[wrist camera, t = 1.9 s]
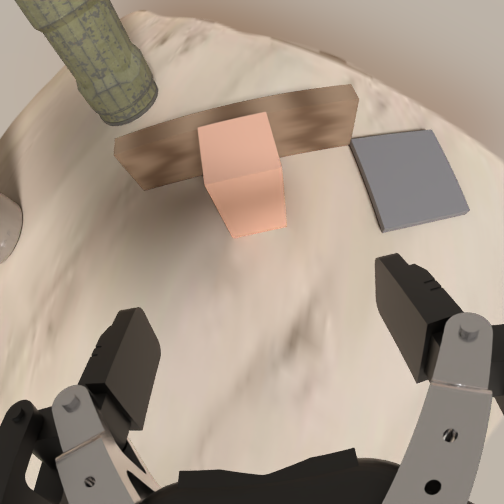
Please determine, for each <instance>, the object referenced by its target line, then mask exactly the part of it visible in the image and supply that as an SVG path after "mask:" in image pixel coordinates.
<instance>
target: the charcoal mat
mask: <svg viewBox="0 0 504 504" xmlns="http://www.w3.org/2000/svg"><path fill="white" fill-rule="evenodd" d="M350 147H351V149H352V151H353V154H354V156H355V159H356V161H357V164H358V166H359V169H360V172H361V174H362V177H363V179H364V182H365V185H366V187H367V190H368V193H369V196H370V198H371V201H372V204H373V207H374V210H375V213H376V216H377V219H378V222H379V225H380V228H381V231H382V233H384V232H388V231H393V230H397V229H402V228H406V227H411V226H415V225H420V224H424V223H429V222H433V221H438V220H442V219H447V218H451V217H455V216H460V215H464V214H466V213H467V212H468V211H469V210H470V209H469V207H468V204H467V202H466V200H465V197H464V195H463V192H462V190H461V188H460V186H459V183H458V181H457V179H456V177H455V175H454V172H453V170H452V168H451V166H450V164H449V162H448V160H447V158H446V156H445V154H444V152H443V150H442V148H441V146H440V144H439V142H438V140H437V138H436V137H435V135H434V133H433V131H432V130H422V131H412V132H403V133H394V134H386V135H378V136H370V137H363V138H356V139H351V142H350Z"/></svg>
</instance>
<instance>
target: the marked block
mask: <svg viewBox="0 0 504 504" xmlns="http://www.w3.org/2000/svg"><path fill="white" fill-rule="evenodd" d="M198 136H199V145H200V153H201V161H202V169H203V177H204V185H205V187H206V189H207V191H208V193H209V194H210V196H211V198H212V200H213V202H214V204H215V206H216V208H217V209H218V211H219V213H220V215H221V217H222V219H223V221H224V223H225V224H226V226H227V228H228V230H229V232H230V234H231V236H232V237H233V238H237V237H242V236H247V235H251V234H256V233H260V232H265V231H270V230H274V229H279V228H284V227H287V222H286V209H285V197H284V185H283V174H282V166H281V162H280V159H279V155H278V152H277V148H276V145H275V141H274V138H273V134H272V131H271V127H270V124H269V120H268V117H267V114H266V112H262V113H257V114H252V115H248V116H243V117H239V118H234V119H230V120H226V121H222V122H218V123H214V124H210V125H206V126H202V127H198Z"/></svg>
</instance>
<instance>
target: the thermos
mask: <svg viewBox="0 0 504 504" xmlns="http://www.w3.org/2000/svg"><path fill="white" fill-rule="evenodd" d="M15 1H16V3H17V4H18V6H19V7H20V9H21V10H22V12H23V13H24V15H25V16H26V17H27V19H28V20H29V22H30V23H31V25H32V26H33V27H34V28H35V29H36V30H38V31H41V32H43V34H44V35H45V37H46V38H47V40H48V41H49V42H50V44H51V45H52V46H53V48H54V49H55V51H56V52H57V54H58V55H59V56H60V58H61V59H62V61H63V62H64V63H65V65H66V66H67V68H68V69H69V70H70V72H71V73H72V75H73V76H74V77H75V79H76V82H77V86H78V90H79V92H80V93H81V94H82V96H83V97H84V98H85V100H86V101H87V102H88V104H89V105H90V106H91V107H92V109H93V110H94V111H95V112H96V113H98V114H99V115H100V117H101V119H102V120H103V121H104V122H105V123H106V124H108V125H111V126H119V125H123V124H127V123H130V122H132V121H133V120H135V119H137V118H139V117H140V116H142V115H143V114H144V113H145V112H147V111H148V110H149V108H150V107H151V106H152V105H153V104H154V102H155V100H156V98H157V95H158V88H157V86H156V84H155V82H154V81H153V79H152V73H151V71H150V69H149V67H148V65H147V63H146V61H145V59H144V57H143V55H142V53H141V51H140V49H139V48H137V47H136V46H135V45H134V44H132V43H131V41H130V39H129V37H128V35H127V33H126V31H125V29H124V27H123V25H122V23H121V21H120V19H119V18H118V15H117V13H116V11H115V10H114V8H113V6H112V4H111V2H110V0H15Z"/></svg>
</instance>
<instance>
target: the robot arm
mask: <svg viewBox="0 0 504 504" xmlns="http://www.w3.org/2000/svg"><path fill="white" fill-rule="evenodd" d="M21 227H22V211H21V208H20V206H19V205H18V204H17V203H15V202H14V201H12V200H11V199H9V198H8V197H6V196H5V195H3V194H2V193H0V263H2V262H3V261H4V260H6V259H7V257H8V256H9V255H10V254H11V252H12V251H13V249H14V247H15V245H16V243H17V241H18V238H19V235H20V232H21ZM375 284H376V303H377V307H378V311H379V313H380V315H381V317H382V319H383V321H384V322H385V324H386V326H387V328H388V330H389V332H390V333H391V335H392V337H393V339H394V341H395V343H396V344H397V346H398V348H399V350H400V352H401V354H402V356H403V358H404V360H405V361H406V363H407V365H408V367H409V369H410V371H411V373H412V375H413V377H414V379H415V381H416V383H420V382H423V381H425V380H429V382H430V386H429V389H428V392H427V395H426V399H425V402H424V405H423V408H422V411H421V414H420V417H419V419H418V422H417V425H416V428H415V430H414V433H413V436H412V438H411V441H410V443H409V446H408V448H407V451H406V453H405V456H404V458H403V460H402V463H401V465H399V464H397V463H394V462H390V461H386V460H381V459H374V458H357V456H356V452H355V448H351V449H348V450H344V451H339V452H335V453H331V454H326V455H322V456H317V457H312V458H309V459H306V460H304V461H301V462H299V463H296V464H294V465H291V466H289V467H286V468H284V469H281V470H278V471H276V472H273V473H270V474H267V475H256V474H247V473H240V472H232V471H226V470H200V471H179V479H178V482H176V483H173V484H170V485H167V486H165V487H163V488H161V487H160V486H159V484H158V483H157V482H156V481H155V479H154V478H153V477H152V475H151V473H150V472H149V470H148V469H147V467H146V466H145V464H144V462H143V461H142V459H141V457H140V456H139V454H138V452H137V451H136V449H135V447H134V445H133V444H132V442H131V440H130V439H129V438H128V437H127V436H128V433H129V430H143V425H144V421H145V417H146V413H147V408H148V404H149V400H150V396H151V392H152V388H153V384H154V380H155V376H156V372H157V368H158V364H159V361H160V356H161V349H160V344H159V341H158V339H157V337H156V335H155V333H154V331H153V329H152V327H151V325H150V323H149V321H148V319H147V317H146V315H145V313H144V311H143V310H142V309H141V308H139V307H137V308H131V309H126V310H121V311H119V312H118V314H117V316H116V318H115V320H114V322H113V324H112V326H110V327H109V328H108V329H107V330H106V331H105V332H104V333H103V334H102V335H101V336H100V338H99V340H98V342H97V344H96V348H95V349H94V351H93V353H92V357H90V359H89V361H88V363H87V365H86V367H85V370H84V372H83V374H82V376H81V378H80V380H79V383H78V385H73V386H70V387H68V388H66V389H64V390H63V391H61V392H60V393H59V394H58V395H57V397H56V398H55V400H54V402H53V405H52V406H51V407H48V408H44V409H41V410H37V409H36V407H35V406H34V405H33V404H32V403H31V402H30V401H28V400H21V401H19V402H17V403H15V404H14V405H12V406H11V407H10V409H9V410H8V411H7V413H6V415H5V417H4V419H3V421H2V423H1V426H0V504H474V503H472V502H469V501H468V499H469V496H470V493H471V490H472V487H473V483H474V480H475V477H476V474H477V470H478V466H479V462H480V459H481V454H482V450H483V446H484V442H485V437H486V432H487V427H488V421H489V416H490V410H491V403H492V397H495V399H496V401H497V403H498V405H499V407H500V409H501V411H502V413H503V415H504V324H501V325H491V324H490V323H489V322H488V320H486V319H485V318H484V317H482V316H480V315H478V314H475V313H468V312H465V313H464V312H463V311H462V310H461V308H460V307H459V306H458V305H457V304H456V303H455V301H454V300H453V299H452V298H451V297H450V296H449V294H448V293H447V292H446V291H445V290H444V289H443V288H441V285H440V284H439V283H438V282H437V281H435V279H434V278H433V276H432V275H431V274H430V273H429V272H428V271H427V270H426V269H424V268H422V267H420V266H418V265H416V264H412V265H408V264H407V263H406V262H405V260H404V259H403V258H402V257H401V256H400V255H399V254H398V253H395V254H391V255H387V256H382V257H378V258H376V260H375ZM32 453H33V454H34V455H35V456H36V457H37V458H38V459H40V460H41V461H42V464H41V468H40V471H39V474H38V478H37V481H36V485H35V488H34V491H33V490H32V489H30V488H29V487H28V485H27V483H26V481H25V473H26V470H27V467H28V464H29V461H30V458H31V455H32Z"/></svg>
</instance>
